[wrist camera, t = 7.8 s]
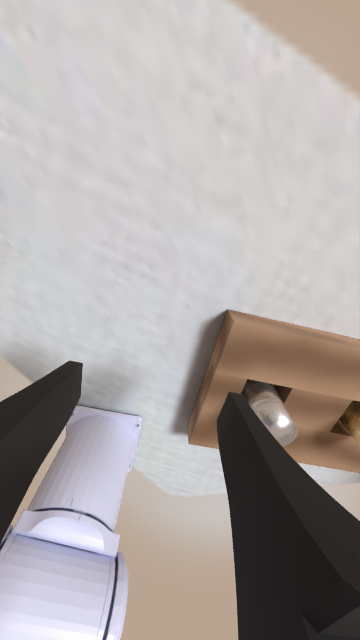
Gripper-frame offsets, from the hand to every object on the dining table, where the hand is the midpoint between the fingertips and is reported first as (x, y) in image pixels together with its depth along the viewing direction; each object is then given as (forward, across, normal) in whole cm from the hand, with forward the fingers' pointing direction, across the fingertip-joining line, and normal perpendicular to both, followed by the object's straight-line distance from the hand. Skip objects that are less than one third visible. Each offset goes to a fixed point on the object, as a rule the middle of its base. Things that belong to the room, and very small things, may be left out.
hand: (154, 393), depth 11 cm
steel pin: (+9, -10, +5) cm, 15 cm away
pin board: (+9, -15, +5) cm, 18 cm away
